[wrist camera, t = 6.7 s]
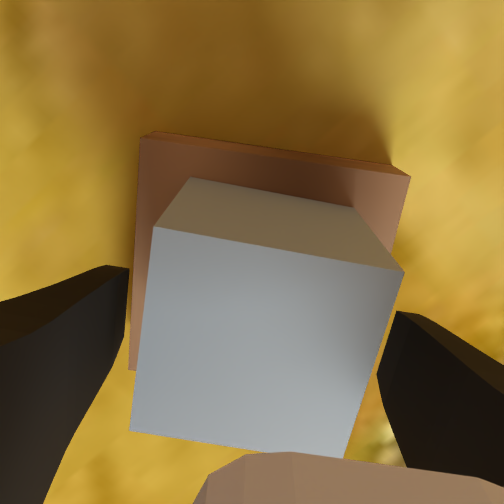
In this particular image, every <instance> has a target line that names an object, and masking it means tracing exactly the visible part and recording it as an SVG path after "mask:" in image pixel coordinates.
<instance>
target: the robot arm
mask: <svg viewBox="0 0 504 504" xmlns="http://www.w3.org/2000/svg"><path fill="white" fill-rule="evenodd" d="M128 280H129V268H122V267H116V266H110V265H104V266H100V267H97V268H94V269H91V270H89V271H86V272H84V273H81V274H79V275H76V276H74V277H71V278H69V279H66V280H64V281H61V282H59V283H56V284H54V285H51V286H48V287H45V288H42V289H39V290H36V291H33V292H31V293H28V294H25V295H22V296H19V297H15V298H12V299H8V300H5V301H1V302H0V504H43V502H44V500H45V497H46V495H47V493H48V490H49V488H50V485H51V483H52V481H53V479H54V476H55V474H56V472H57V469H58V467H59V465H60V462H61V460H62V458H63V455H64V453H65V451H66V449H67V447H68V445H69V443H70V441H71V439H72V437H73V435H74V433H75V432H76V430H77V428H78V426H79V425H80V423H81V421H82V419H83V418H84V416H85V414H86V412H87V411H88V409H89V407H90V405H91V403H92V402H93V400H94V398H95V396H96V395H97V393H98V391H99V389H100V388H101V386H102V384H103V382H104V381H105V379H106V377H107V375H108V373H109V372H110V370H111V368H112V366H113V363H114V361H115V358H116V356H117V353H118V351H119V348H120V346H121V343H122V340H123V338H124V330H125V318H126V305H127V293H128ZM377 379H378V384H379V389H380V394H381V398H382V402H383V406H384V409H385V412H386V415H387V417H388V420H389V422H390V425H391V428H392V430H393V433H394V436H395V438H396V441H397V443H398V446H399V448H400V451H401V454H402V456H403V459H404V461H405V464H406V466H407V468H406V467H399V466H391V465H384V464H377V463H370V462H363V461H356V460H349V459H341V458H334V457H327V456H320V455H313V454H306V453H298V452H291V451H290V452H274V453H259V454H246V455H244V456H242V457H240V458H238V459H236V460H234V461H233V462H231V463H229V464H227V465H225V466H224V467H222V468H220V469H218V470H216V471H214V472H213V473H211V474H209V475H208V477H207V479H206V481H205V483H204V484H203V486H202V488H201V490H200V492H199V493H198V495H197V497H196V499H195V500H194V502H193V504H504V365H502V364H501V363H499V362H497V361H496V360H494V359H492V358H491V357H489V356H488V355H486V354H484V353H483V352H481V351H480V350H478V349H476V348H475V347H473V346H472V345H470V344H469V343H467V342H465V341H464V340H462V339H461V338H459V337H458V336H456V335H455V334H453V333H451V332H450V331H448V330H447V329H445V328H444V327H442V326H440V325H439V324H437V323H435V322H434V321H432V320H430V319H428V318H426V317H424V316H422V315H419V314H414V313H408V312H402V311H396V314H395V317H394V320H393V324H392V327H391V330H390V333H389V336H388V339H387V343H386V346H385V349H384V352H383V355H382V358H381V362H380V365H379V368H378V371H377Z"/></svg>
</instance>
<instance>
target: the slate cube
mask: <svg viewBox="0 0 504 504" xmlns="http://www.w3.org/2000/svg"><path fill="white" fill-rule="evenodd" d="M404 273H405V272H404V271H403V269H402V268H401V267H400V266H399V264H398V263H397V262H396V261H395V259H394V258H393V257H392V255H391V254H390V253H389V252H388V250H387V249H386V248H385V246H384V245H383V244H382V243H381V241H380V240H379V239H378V238H377V236H376V235H375V234H374V232H373V231H372V230H371V229H370V227H369V226H368V225H367V223H366V222H365V221H364V220H363V218H362V217H361V216H360V215H359V213H358V212H357V211H356V209H355V208H353V207H347V206H342V205H337V204H332V203H326V202H321V201H316V200H311V199H305V198H300V197H295V196H289V195H284V194H279V193H274V192H268V191H263V190H258V189H253V188H247V187H242V186H237V185H231V184H226V183H221V182H216V181H210V180H205V179H200V178H194V177H190V178H189V179H188V180H187V182H186V183H185V184H184V186H183V187H182V188H181V190H180V191H179V193H178V194H177V195H176V197H175V198H174V199H173V201H172V202H171V203H170V205H169V206H168V207H167V209H166V210H165V211H164V213H163V214H162V215H161V217H160V218H159V220H158V221H157V222H156V224H155V225H154V226H153V235H152V243H151V251H150V260H149V268H148V277H147V285H146V294H145V302H144V311H143V319H142V328H141V336H140V345H139V353H138V361H137V370H136V378H135V387H134V395H133V404H132V412H131V421H130V429H129V431H134V432H141V433H147V434H153V435H160V436H166V437H172V438H179V439H185V440H191V441H198V442H204V443H210V444H217V445H223V446H229V447H235V448H242V449H248V450H254V451H261V452H267V453H274V452H290V451H291V452H298V453H306V454H313V455H320V456H327V457H334V458H341V459H343V456H344V453H345V450H346V447H347V444H348V441H349V438H350V435H351V432H352V429H353V426H354V423H355V420H356V417H357V414H358V411H359V408H360V405H361V402H362V399H363V396H364V393H365V390H366V387H367V384H368V381H369V378H370V375H371V372H372V369H373V366H374V363H375V360H376V357H377V354H378V351H379V348H380V345H381V342H382V339H383V336H384V333H385V330H386V327H387V324H388V321H389V318H390V315H391V312H392V309H393V306H394V303H395V300H396V297H397V294H398V291H399V288H400V285H401V282H402V279H403V276H404Z"/></svg>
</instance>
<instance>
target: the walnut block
mask: <svg viewBox="0 0 504 504" xmlns="http://www.w3.org/2000/svg"><path fill="white" fill-rule="evenodd" d="M190 177H194V178H200V179H205V180H210V181H216V182H221V183H226V184H231V185H237V186H242V187H247V188H253V189H258V190H263V191H268V192H274V193H279V194H284V195H289V196H295V197H300V198H305V199H311V200H316V201H321V202H326V203H332V204H337V205H342V206H347V207H353V208H355V209H356V211H357V212H358V213H359V215H360V216H361V217H362V218H363V220H364V221H365V222H366V223H367V225H368V226H369V227H370V229H371V230H372V231H373V232H374V234H375V235H376V236H377V238H378V239H379V240H380V241H381V243H382V244H383V245H384V246H385V248H386V249H387V250H388V252H389V253H390V254H391V251H392V247H393V243H394V239H395V236H396V232H397V228H398V224H399V220H400V217H401V213H402V209H403V205H404V202H405V198H406V194H407V190H408V186H409V183H410V179H411V176H409V175H407V174H406V173H404V172H403V171H401V170H399V169H398V168H396V167H394V166H393V165H388V164H381V163H374V162H367V161H360V160H353V159H346V158H339V157H332V156H325V155H318V154H311V153H304V152H297V151H290V150H283V149H276V148H269V147H262V146H255V145H248V144H241V143H234V142H227V141H220V140H213V139H206V138H199V137H192V136H185V135H178V134H171V133H164V132H157V131H154V132H152V133H150V134H148V135H146V136H143V137H141V138H140V151H139V170H138V190H137V209H136V229H135V248H134V268H133V287H132V307H131V327H130V346H129V366H128V370H134V371H136V370H137V361H138V353H139V345H140V336H141V328H142V319H143V311H144V302H145V294H146V285H147V277H148V268H149V260H150V251H151V243H152V235H153V226H154V225H155V224H156V222H157V221H158V220H159V218H160V217H161V215H162V214H163V213H164V211H165V210H166V209H167V207H168V206H169V205H170V203H171V202H172V201H173V199H174V198H175V197H176V195H177V194H178V193H179V191H180V190H181V188H182V187H183V186H184V184H185V183H186V182H187V180H188V179H189V178H190Z"/></svg>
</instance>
